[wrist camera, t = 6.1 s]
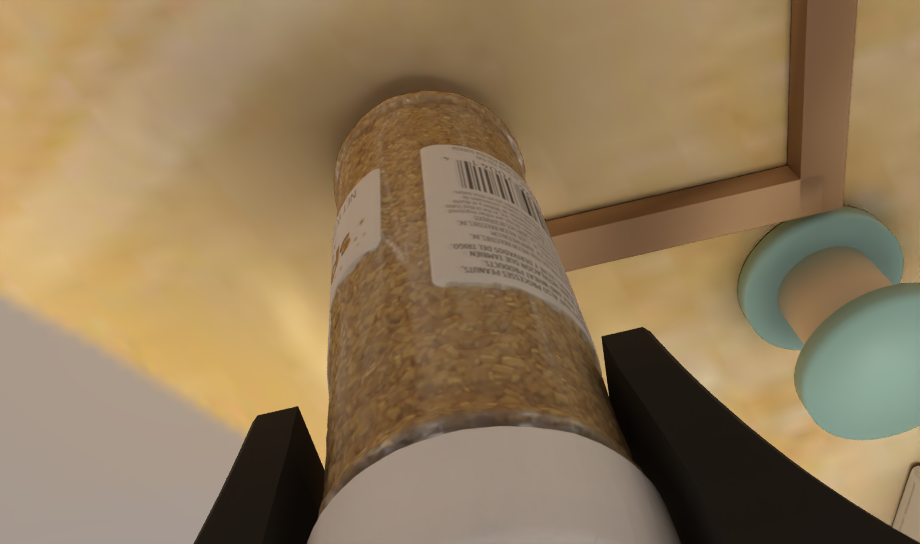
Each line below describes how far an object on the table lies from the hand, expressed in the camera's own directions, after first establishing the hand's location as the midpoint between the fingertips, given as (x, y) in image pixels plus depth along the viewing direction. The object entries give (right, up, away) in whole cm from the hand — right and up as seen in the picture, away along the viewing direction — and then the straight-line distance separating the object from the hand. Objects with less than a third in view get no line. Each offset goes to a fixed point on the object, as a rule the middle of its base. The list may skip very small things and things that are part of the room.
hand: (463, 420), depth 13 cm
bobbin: (+10, +2, +13) cm, 17 cm away
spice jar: (-1, +5, +8) cm, 9 cm away
